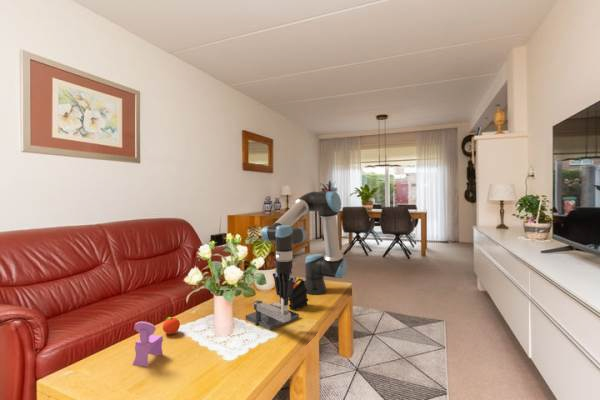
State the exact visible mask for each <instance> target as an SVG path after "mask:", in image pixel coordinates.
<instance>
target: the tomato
mask: <svg viewBox="0 0 600 400" xmlns="http://www.w3.org/2000/svg"><path fill="white" fill-rule="evenodd" d="M180 326H181V323H180V320H179V319H178V318H177V317H175V316H173V317H171V316H168V317H165V319H164V321H163V323H162V330H163V332H164V333H165V334H167V335H174V334H176V333H177V332H178V330H179V329H180Z"/></svg>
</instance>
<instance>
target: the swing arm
mask: <svg viewBox="0 0 600 400" xmlns="http://www.w3.org/2000/svg"><path fill="white" fill-rule="evenodd" d="M270 304H271V303H267V302H265V301H262V300H255V301H254V302H253V310H255V311H256V310H257V311H259V312H261V313H263V314H265V315H268V316H270V317H272V318H274V319H276V320H279V321H281V322H283V323H284V322H287V321H290V320H291V313H289V312H287V311H285V310H282V309H280V308H277V307H275V306H272V305H270Z"/></svg>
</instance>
